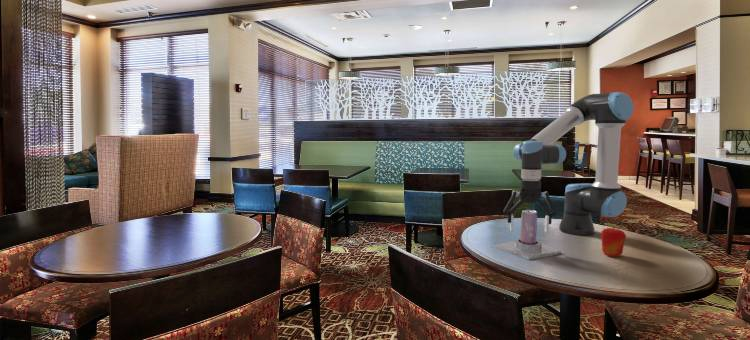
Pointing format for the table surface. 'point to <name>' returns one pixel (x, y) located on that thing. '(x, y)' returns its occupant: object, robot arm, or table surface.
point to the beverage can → (528, 227)
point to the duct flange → (528, 249)
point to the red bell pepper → (613, 241)
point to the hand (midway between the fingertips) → (528, 231)
